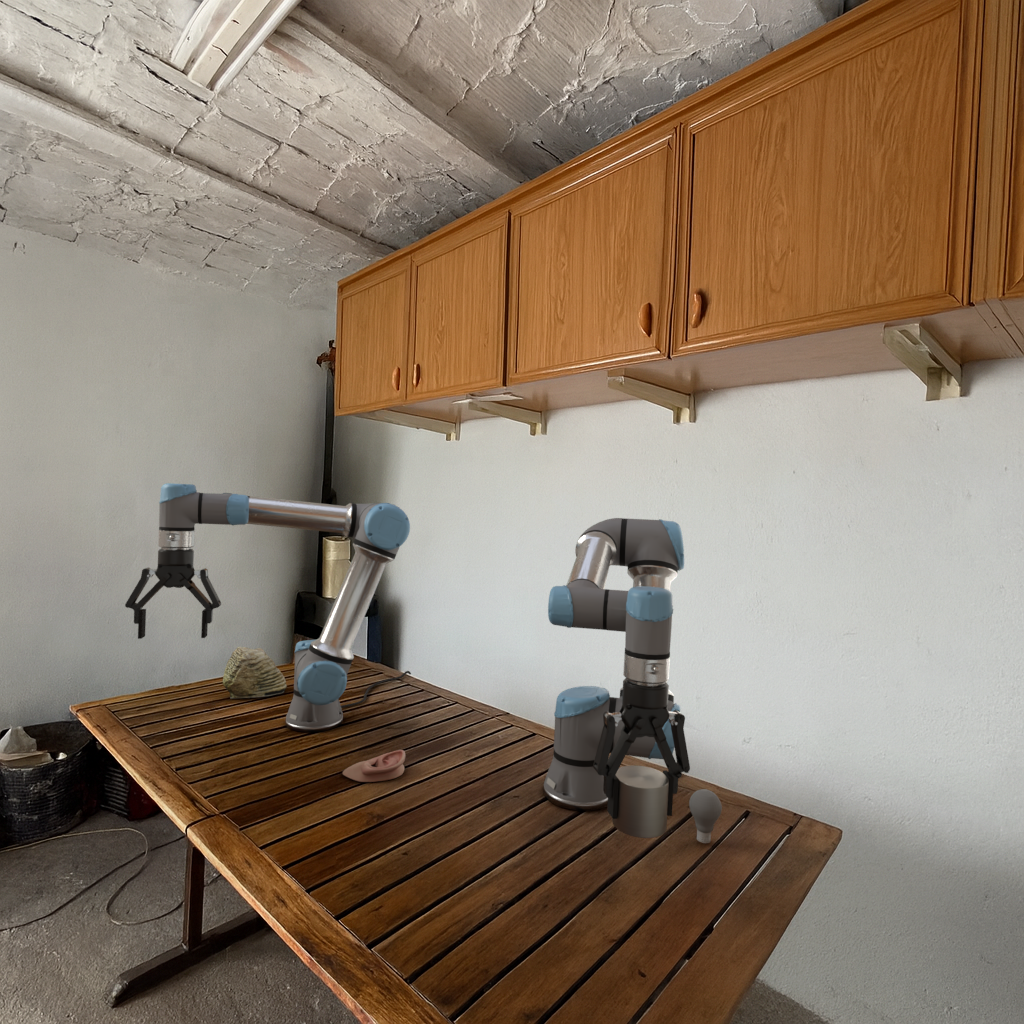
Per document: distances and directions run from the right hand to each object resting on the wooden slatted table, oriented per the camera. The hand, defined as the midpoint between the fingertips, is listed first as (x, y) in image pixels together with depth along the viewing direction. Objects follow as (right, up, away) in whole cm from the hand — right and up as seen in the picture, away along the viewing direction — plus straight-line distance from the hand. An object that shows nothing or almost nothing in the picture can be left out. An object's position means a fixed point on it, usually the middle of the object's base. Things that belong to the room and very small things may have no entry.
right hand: (639, 813), depth 106 cm
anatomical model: (-53, -10, +40) cm, 67 cm away
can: (0, -2, 0) cm, 2 cm away
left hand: (-102, +21, +44) cm, 113 cm away
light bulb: (+16, -13, +16) cm, 26 cm away
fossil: (-102, -7, +92) cm, 137 cm away
